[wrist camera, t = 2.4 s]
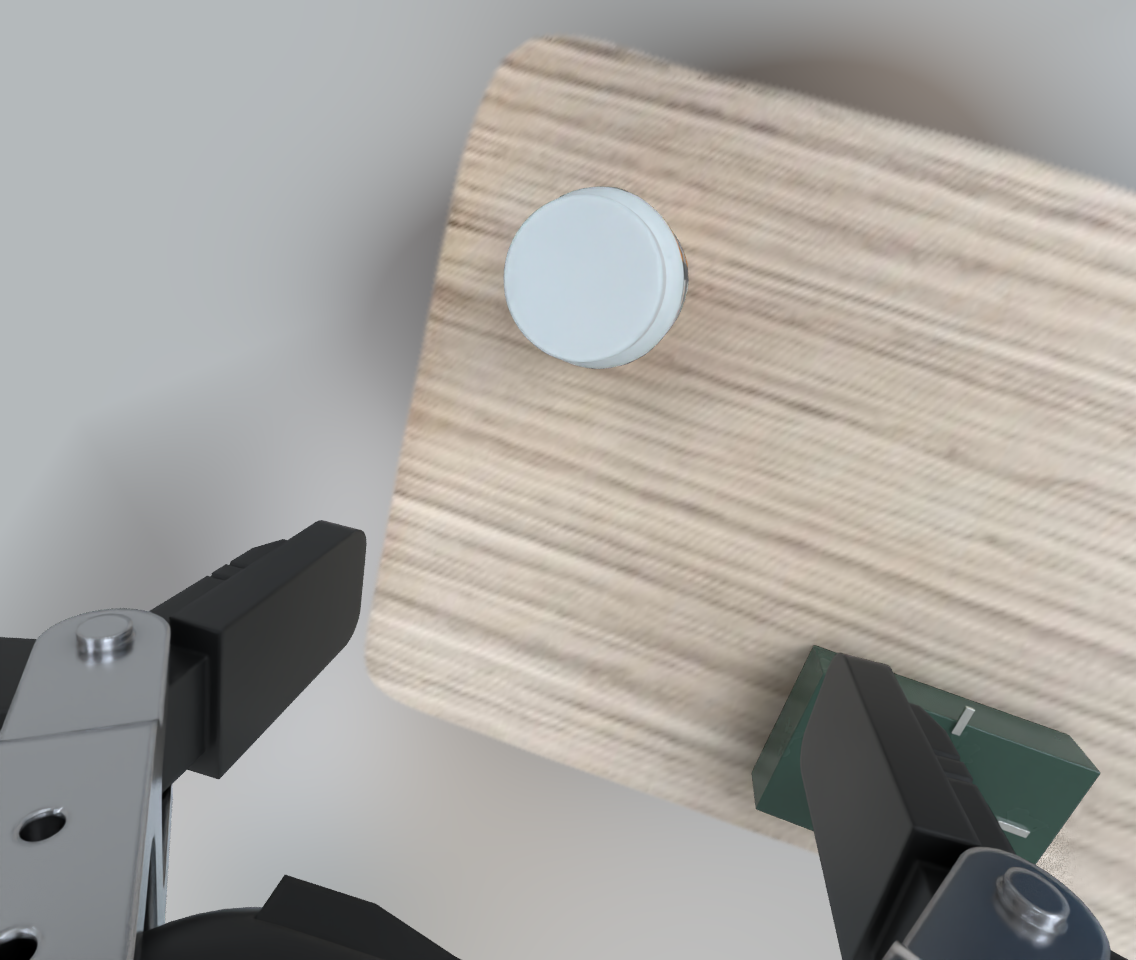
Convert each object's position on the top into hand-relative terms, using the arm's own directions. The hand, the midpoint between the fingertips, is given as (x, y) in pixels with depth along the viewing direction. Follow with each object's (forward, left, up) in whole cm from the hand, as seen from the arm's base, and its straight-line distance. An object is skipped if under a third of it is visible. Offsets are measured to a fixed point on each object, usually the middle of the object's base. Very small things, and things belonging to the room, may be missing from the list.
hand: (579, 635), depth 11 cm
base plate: (+20, +3, -20) cm, 28 cm away
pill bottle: (-6, +1, -20) cm, 21 cm away
